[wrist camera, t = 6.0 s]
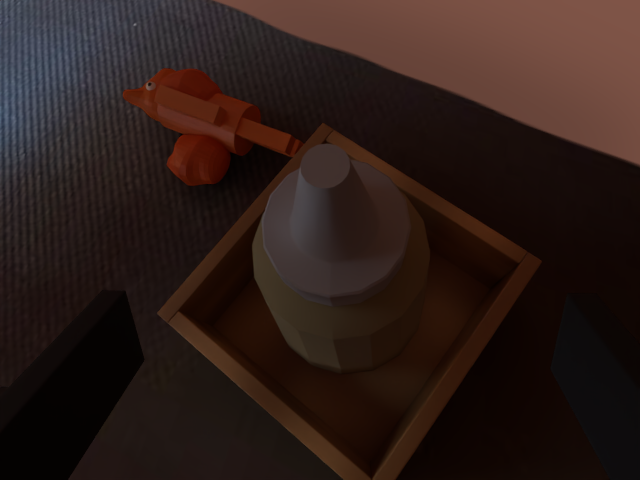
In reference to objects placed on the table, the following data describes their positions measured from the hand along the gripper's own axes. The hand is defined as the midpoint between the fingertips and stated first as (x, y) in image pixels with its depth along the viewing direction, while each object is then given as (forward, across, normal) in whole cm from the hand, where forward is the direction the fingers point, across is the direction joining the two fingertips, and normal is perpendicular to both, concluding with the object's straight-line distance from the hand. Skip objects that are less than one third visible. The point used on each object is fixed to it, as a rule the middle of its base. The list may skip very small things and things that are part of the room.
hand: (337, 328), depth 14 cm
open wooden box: (+12, 0, -8) cm, 14 cm away
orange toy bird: (+20, -9, 0) cm, 22 cm away
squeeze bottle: (+12, 0, -7) cm, 14 cm away
